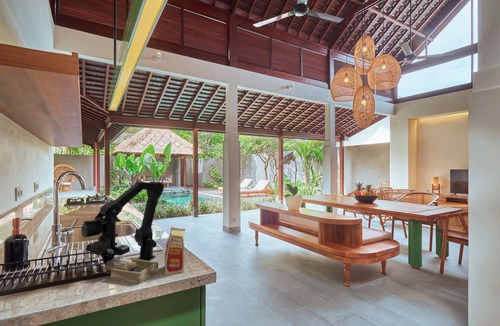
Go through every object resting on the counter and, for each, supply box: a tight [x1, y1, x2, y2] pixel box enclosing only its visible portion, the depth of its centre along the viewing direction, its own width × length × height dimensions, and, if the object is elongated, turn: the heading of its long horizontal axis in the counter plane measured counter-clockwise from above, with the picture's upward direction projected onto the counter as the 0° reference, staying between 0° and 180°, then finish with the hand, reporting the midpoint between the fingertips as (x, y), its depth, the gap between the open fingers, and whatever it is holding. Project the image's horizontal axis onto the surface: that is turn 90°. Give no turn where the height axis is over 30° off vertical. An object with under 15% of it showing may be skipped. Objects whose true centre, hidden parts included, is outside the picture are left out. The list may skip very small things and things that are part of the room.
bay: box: [110, 258, 159, 284], centre depth 115 cm, size 13×14×4 cm
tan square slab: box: [104, 256, 137, 274], centre depth 117 cm, size 8×10×5 cm
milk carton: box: [164, 226, 186, 275], centre depth 123 cm, size 9×9×20 cm
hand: (107, 267), depth 118 cm, fingers closed
